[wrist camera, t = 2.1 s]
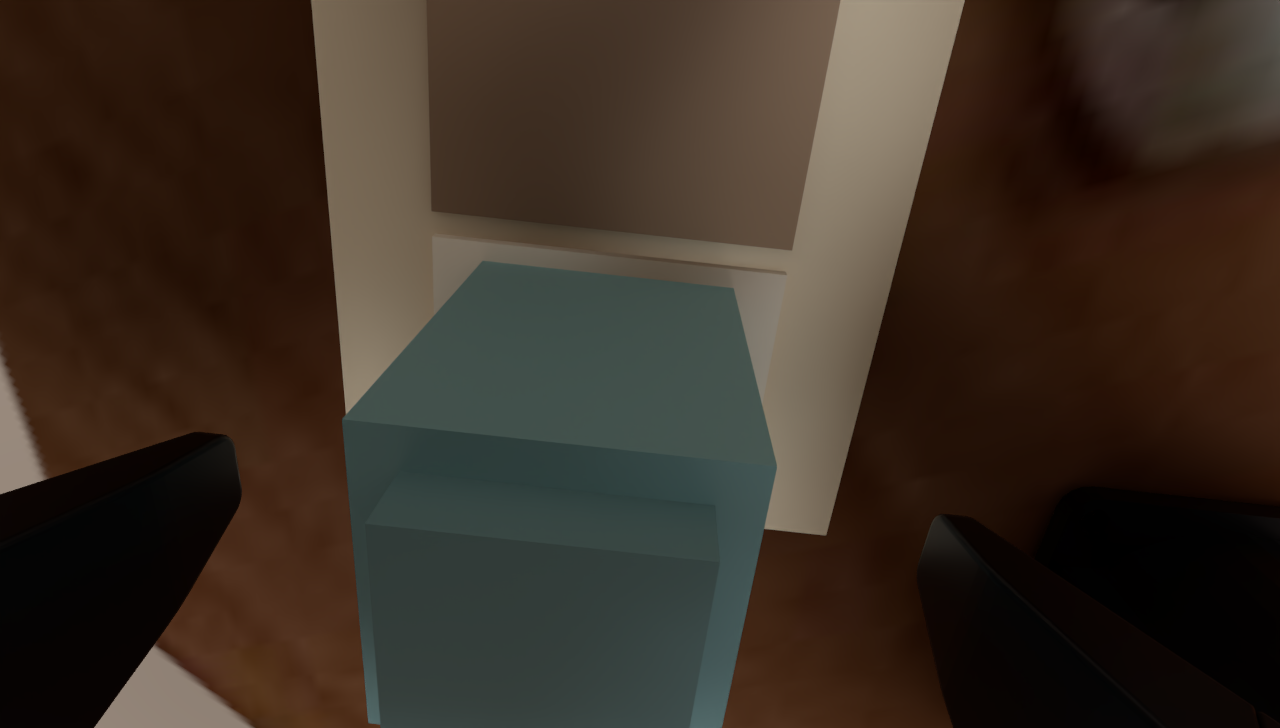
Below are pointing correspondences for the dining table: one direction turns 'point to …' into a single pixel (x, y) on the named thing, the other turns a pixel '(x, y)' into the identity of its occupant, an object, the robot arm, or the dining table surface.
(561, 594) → the teal rectangular block
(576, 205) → the game strip
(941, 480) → the dining table surface
